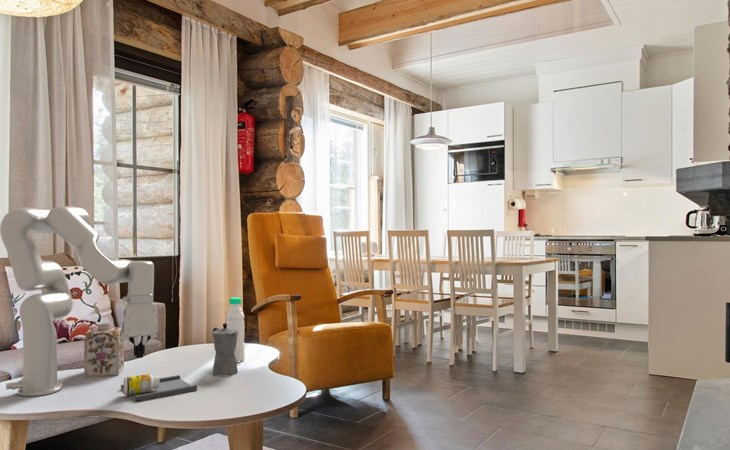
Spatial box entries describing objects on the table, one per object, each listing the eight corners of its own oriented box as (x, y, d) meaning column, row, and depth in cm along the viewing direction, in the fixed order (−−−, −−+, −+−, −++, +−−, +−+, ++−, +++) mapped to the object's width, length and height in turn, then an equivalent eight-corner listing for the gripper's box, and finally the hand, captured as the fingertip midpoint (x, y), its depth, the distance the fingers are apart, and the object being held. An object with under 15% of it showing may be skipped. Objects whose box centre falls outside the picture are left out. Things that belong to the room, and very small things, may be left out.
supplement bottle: (123, 377, 174) (157, 373, 179) (123, 395, 172) (157, 390, 177) (124, 377, 169) (159, 372, 174) (125, 395, 168) (160, 391, 173)
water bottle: (224, 359, 219) (224, 297, 219) (242, 358, 222) (242, 296, 222) (228, 363, 213) (227, 299, 213) (246, 361, 216) (246, 298, 216)
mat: (135, 401, 165) (135, 397, 165) (121, 389, 179) (121, 384, 179) (196, 390, 177) (196, 385, 177) (179, 379, 190) (178, 375, 190)
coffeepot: (246, 373, 197) (245, 323, 197) (222, 378, 191) (222, 327, 191) (224, 366, 208) (224, 319, 209) (201, 371, 202) (201, 322, 202)
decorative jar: (83, 378, 194) (83, 327, 194) (90, 370, 205) (90, 322, 205) (119, 375, 197) (119, 325, 197) (124, 367, 208) (124, 320, 208)
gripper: (118, 302, 167) (116, 362, 167) (168, 299, 176) (166, 356, 176) (112, 299, 173) (110, 357, 173) (160, 297, 182) (159, 352, 182)
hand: (139, 357), depth 174 cm, fingers closed
